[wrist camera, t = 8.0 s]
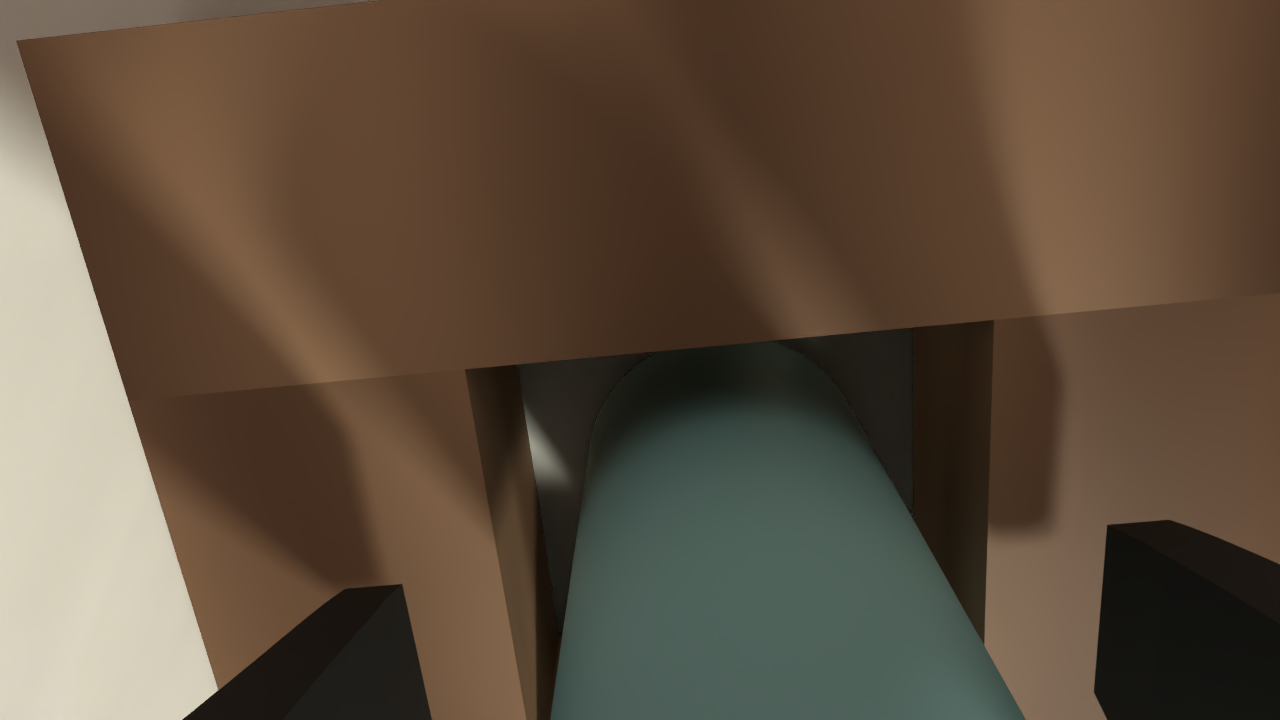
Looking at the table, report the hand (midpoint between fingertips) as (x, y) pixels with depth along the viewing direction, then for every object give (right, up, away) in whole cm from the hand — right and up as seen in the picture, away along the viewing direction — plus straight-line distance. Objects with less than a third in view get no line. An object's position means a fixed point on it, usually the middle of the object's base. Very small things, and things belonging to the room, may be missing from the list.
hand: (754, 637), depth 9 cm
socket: (0, +1, +4) cm, 4 cm away
